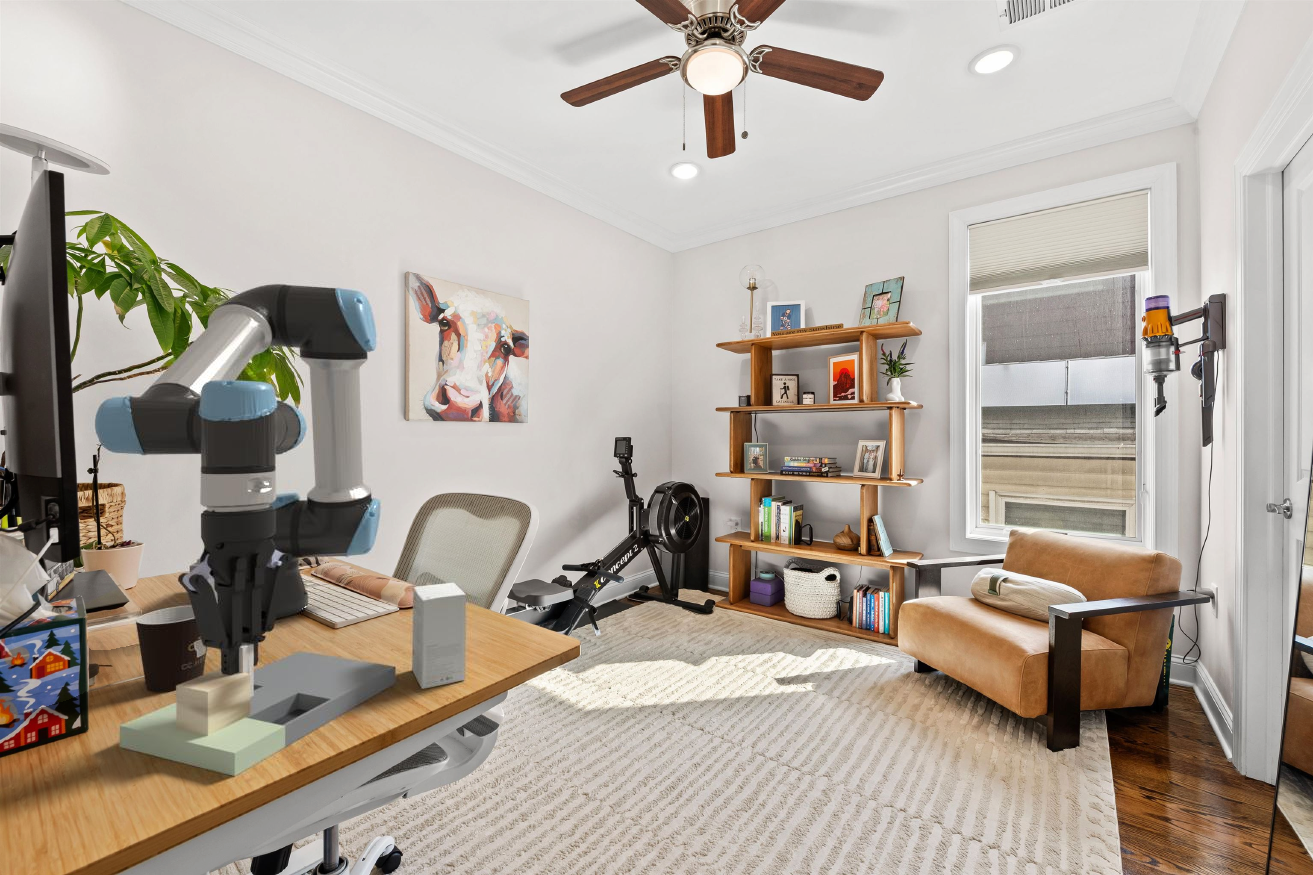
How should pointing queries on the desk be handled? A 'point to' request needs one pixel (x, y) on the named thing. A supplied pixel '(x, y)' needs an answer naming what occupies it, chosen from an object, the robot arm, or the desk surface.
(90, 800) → the desk surface
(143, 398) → the robot arm
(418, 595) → the small box
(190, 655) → the coffee mug
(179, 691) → the maple block
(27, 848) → the desk surface
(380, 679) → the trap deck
